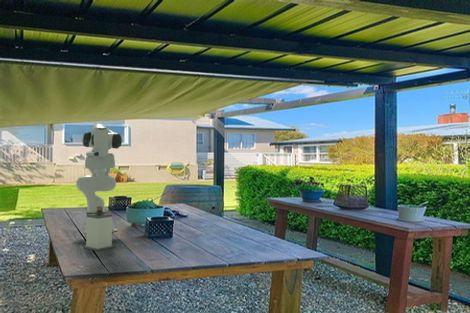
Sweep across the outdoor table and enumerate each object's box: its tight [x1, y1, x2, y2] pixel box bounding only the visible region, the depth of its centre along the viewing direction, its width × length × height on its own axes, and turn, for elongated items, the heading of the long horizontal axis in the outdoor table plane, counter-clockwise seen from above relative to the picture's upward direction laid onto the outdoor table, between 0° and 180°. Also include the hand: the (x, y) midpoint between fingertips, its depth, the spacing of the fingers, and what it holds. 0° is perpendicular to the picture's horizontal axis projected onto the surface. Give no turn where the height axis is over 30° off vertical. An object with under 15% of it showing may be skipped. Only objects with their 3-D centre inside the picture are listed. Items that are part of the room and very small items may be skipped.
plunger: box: [95, 206, 106, 215], centre depth 251 cm, size 7×7×19 cm
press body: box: [83, 212, 115, 252], centre depth 251 cm, size 12×12×20 cm
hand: (100, 175), depth 266 cm, fingers open, 8 cm apart
